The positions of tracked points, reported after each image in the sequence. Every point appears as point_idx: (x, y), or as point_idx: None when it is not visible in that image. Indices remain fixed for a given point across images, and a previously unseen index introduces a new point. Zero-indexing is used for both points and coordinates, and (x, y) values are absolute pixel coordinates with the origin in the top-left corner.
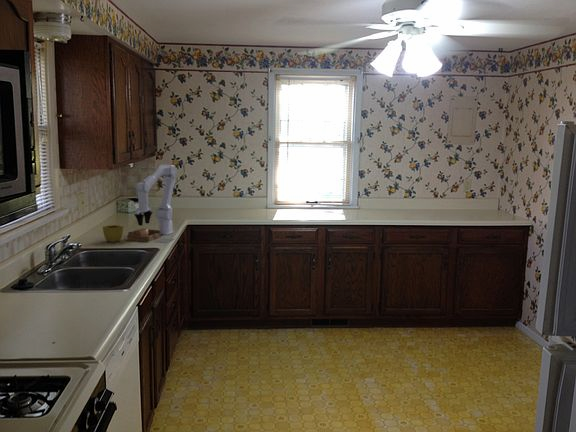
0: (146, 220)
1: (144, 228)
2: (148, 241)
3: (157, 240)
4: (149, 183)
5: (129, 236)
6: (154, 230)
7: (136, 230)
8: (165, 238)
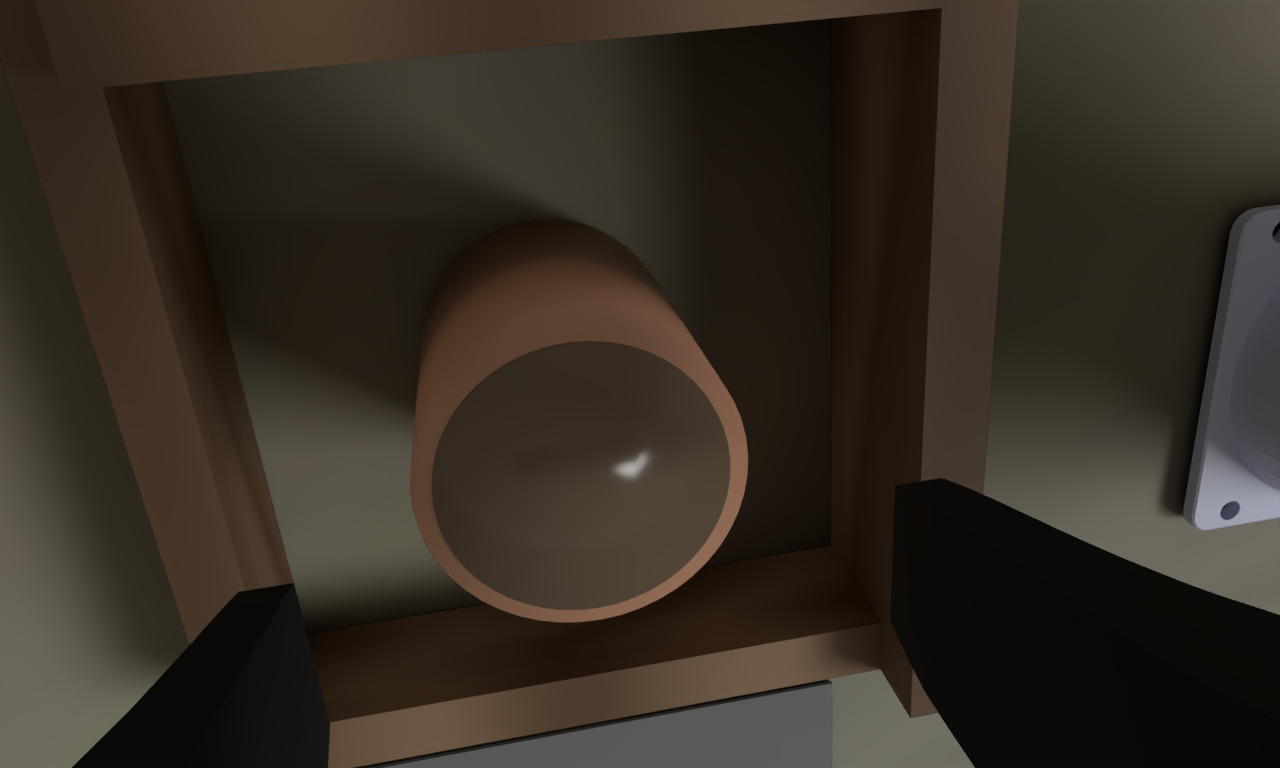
0: (969, 613)
1: (694, 423)
2: None
3: (520, 748)
4: None
5: (34, 107)
6: None
7: (613, 30)
8: (798, 741)
